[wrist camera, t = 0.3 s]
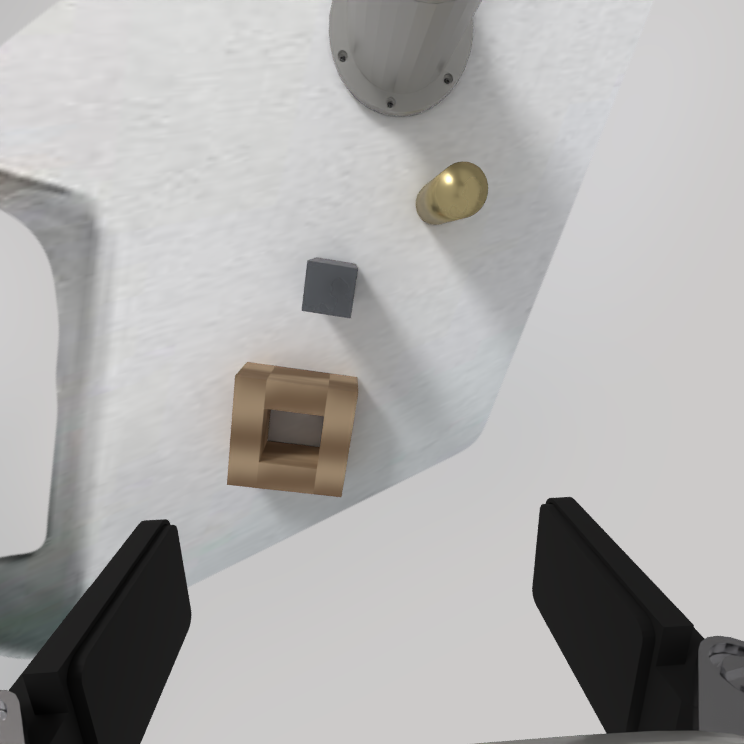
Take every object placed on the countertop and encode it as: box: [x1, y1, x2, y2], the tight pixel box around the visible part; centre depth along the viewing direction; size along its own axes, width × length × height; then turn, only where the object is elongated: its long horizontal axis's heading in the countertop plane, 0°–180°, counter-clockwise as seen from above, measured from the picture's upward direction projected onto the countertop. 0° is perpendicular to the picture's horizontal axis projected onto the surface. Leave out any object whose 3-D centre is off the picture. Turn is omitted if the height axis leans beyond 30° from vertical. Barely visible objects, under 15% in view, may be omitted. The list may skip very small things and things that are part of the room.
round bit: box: [416, 162, 488, 225], centre depth 37 cm, size 4×4×10 cm
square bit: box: [302, 257, 358, 318], centre depth 38 cm, size 4×4×10 cm
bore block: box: [227, 362, 358, 497], centre depth 45 cm, size 12×12×5 cm
